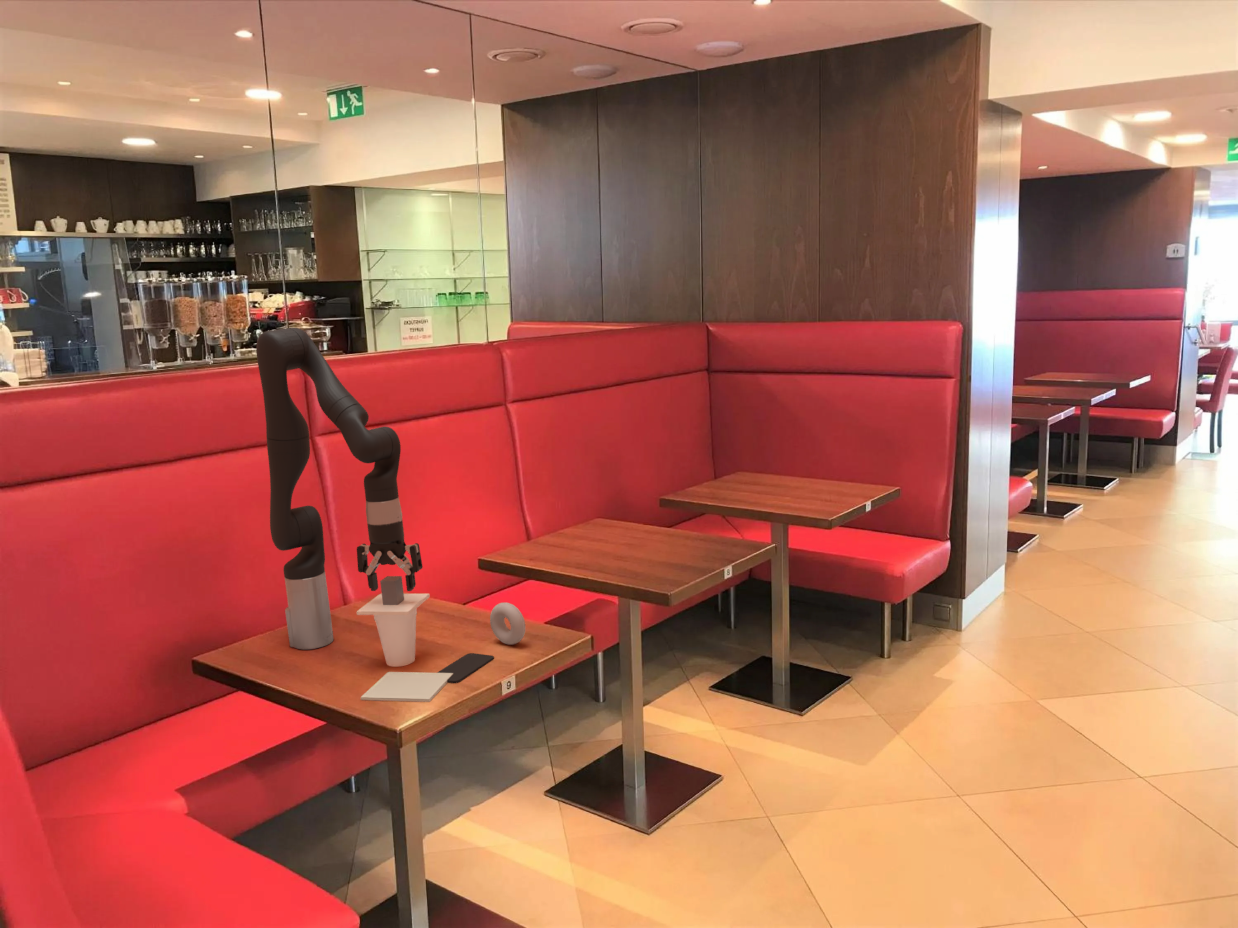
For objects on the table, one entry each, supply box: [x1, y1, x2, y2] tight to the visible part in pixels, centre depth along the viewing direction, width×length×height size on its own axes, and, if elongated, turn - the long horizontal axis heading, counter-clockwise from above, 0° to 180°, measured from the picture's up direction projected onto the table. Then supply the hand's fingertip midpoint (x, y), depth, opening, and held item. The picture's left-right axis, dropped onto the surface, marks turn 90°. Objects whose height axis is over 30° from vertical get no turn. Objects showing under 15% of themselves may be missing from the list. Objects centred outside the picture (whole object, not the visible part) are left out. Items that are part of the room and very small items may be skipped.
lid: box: [356, 575, 431, 616], centre depth 214 cm, size 12×12×6 cm
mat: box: [360, 671, 453, 703], centre depth 202 cm, size 15×13×1 cm
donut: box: [489, 602, 526, 646], centre depth 222 cm, size 10×4×10 cm, turn 52°
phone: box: [436, 652, 495, 684], centre depth 211 cm, size 7×1×15 cm
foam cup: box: [373, 608, 418, 668], centre depth 216 cm, size 10×9×13 cm
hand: (392, 590), depth 214 cm, fingers open, 8 cm apart
